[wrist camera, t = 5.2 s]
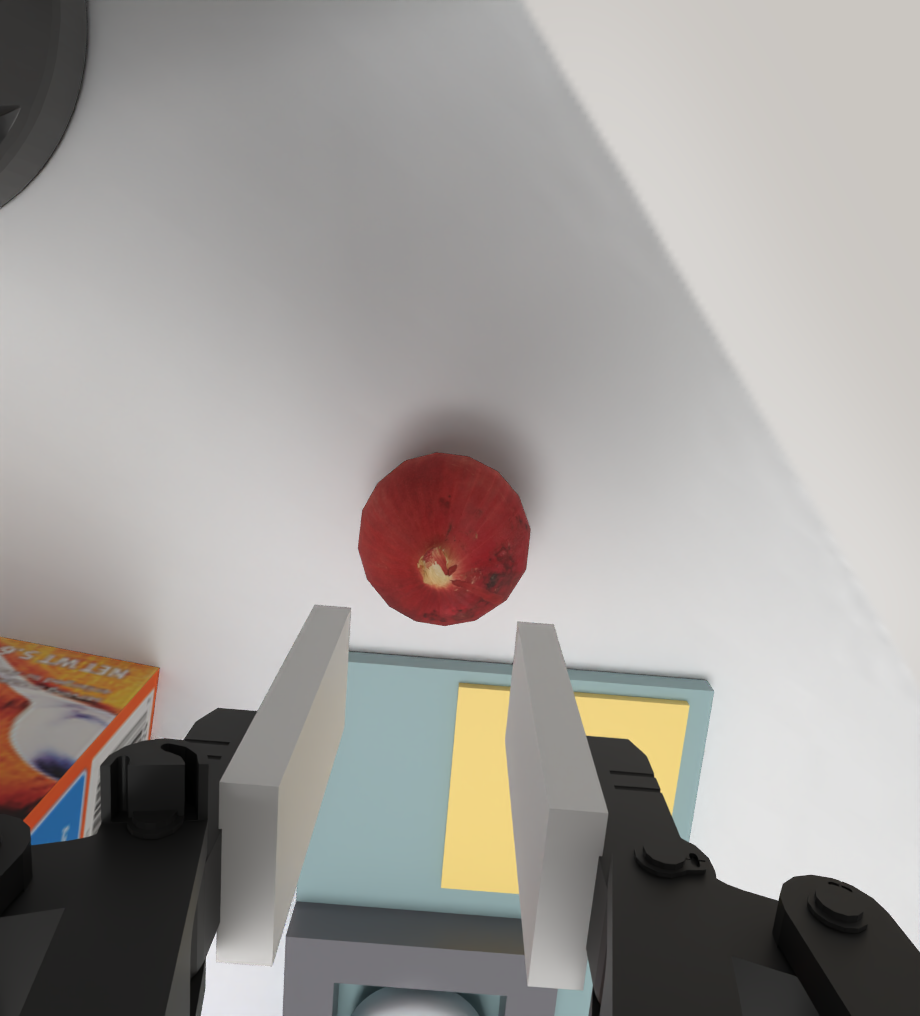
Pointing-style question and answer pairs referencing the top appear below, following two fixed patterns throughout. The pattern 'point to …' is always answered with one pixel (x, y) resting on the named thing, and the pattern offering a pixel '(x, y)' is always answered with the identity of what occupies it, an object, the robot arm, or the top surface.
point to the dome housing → (405, 957)
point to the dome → (414, 1003)
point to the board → (438, 793)
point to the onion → (444, 539)
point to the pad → (485, 785)
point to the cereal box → (65, 732)
